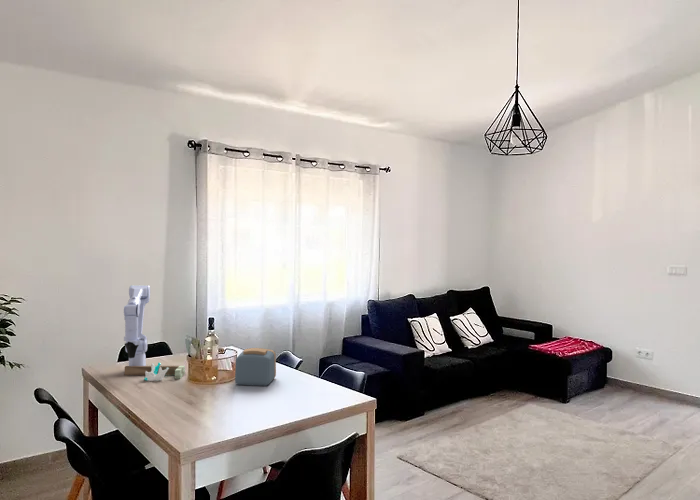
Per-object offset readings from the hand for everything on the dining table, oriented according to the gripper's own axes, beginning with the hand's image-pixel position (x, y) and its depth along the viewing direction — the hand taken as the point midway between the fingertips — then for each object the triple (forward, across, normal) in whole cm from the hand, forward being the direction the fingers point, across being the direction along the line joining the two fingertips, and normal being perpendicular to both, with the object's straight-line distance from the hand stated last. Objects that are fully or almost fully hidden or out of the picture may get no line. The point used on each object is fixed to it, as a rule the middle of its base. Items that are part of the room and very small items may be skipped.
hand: (131, 357), depth 256 cm
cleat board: (+10, -4, -9) cm, 14 cm away
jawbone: (+10, -8, -8) cm, 15 cm away
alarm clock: (+10, -44, -41) cm, 61 cm away
